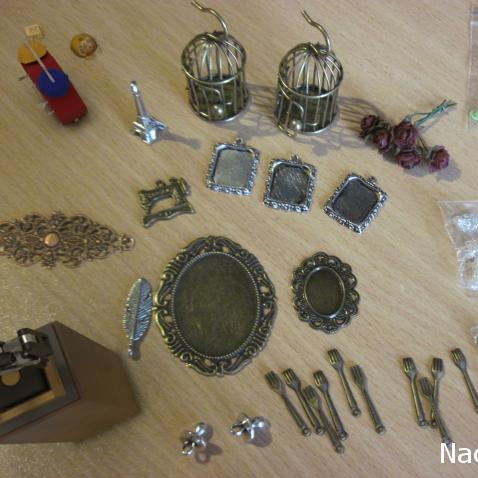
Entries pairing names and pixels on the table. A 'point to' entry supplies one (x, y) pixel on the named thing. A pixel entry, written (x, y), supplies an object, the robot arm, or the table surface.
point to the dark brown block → (21, 385)
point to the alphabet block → (33, 33)
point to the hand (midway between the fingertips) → (8, 375)
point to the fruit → (85, 47)
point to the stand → (71, 393)
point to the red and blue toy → (51, 82)
